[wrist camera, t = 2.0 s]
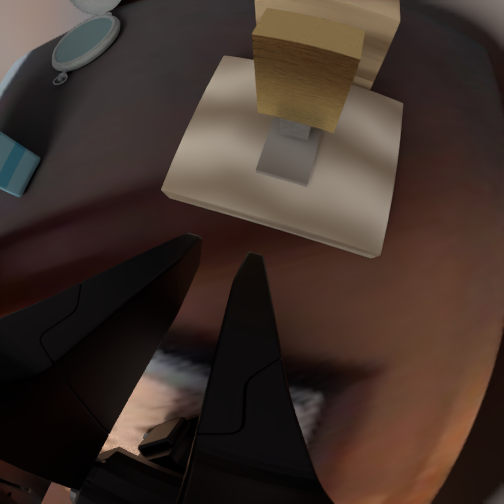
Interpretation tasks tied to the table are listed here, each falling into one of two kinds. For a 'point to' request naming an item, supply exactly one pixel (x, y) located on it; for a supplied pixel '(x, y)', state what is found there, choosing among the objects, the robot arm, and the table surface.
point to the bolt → (304, 69)
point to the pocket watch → (86, 37)
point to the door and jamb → (298, 145)
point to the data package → (15, 166)
